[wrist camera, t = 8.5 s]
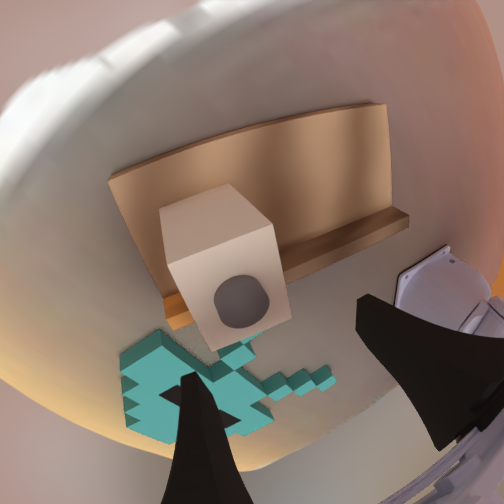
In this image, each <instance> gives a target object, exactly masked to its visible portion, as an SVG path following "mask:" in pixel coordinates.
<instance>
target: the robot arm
mask: <svg viewBox="0 0 504 504" xmlns="http://www.w3.org/2000/svg"><path fill="white" fill-rule="evenodd" d="M355 330H356V332H357V333H358V335H359V336H360V338H361V339H362V341H363V342H364V343H365V345H366V346H367V348H368V349H369V350H370V351H371V352H372V353H373V355H374V356H375V357H376V358H377V359H378V360H379V361H380V363H381V364H382V365H383V366H384V367H385V368H386V369H387V370H388V372H389V373H390V374H391V375H392V376H393V377H394V378H395V379H396V381H397V382H398V383H399V385H400V386H401V387H402V389H403V390H404V392H405V393H406V395H407V396H408V397H409V399H410V400H411V402H412V404H413V406H414V407H415V409H416V410H417V412H418V414H419V416H420V417H421V419H422V421H423V423H424V424H425V426H426V428H427V431H428V433H429V435H430V437H431V439H432V441H433V443H434V446H435V447H436V449H437V450H438V451H441V450H442V449H443V448H445V447H446V446H447V445H449V443H451V442H452V441H453V440H455V439H456V438H457V437H458V436H459V435H460V436H461V437H462V438H463V439H462V440H461V441H460V442H459V443H458V444H457V445H456V446H454V447H453V448H452V449H451V450H450V451H449V452H448V453H447V454H445V455H444V456H443V457H442V458H441V459H440V460H438V462H436V463H435V464H434V465H433V466H431V467H430V468H429V469H428V470H426V471H425V472H424V473H422V474H421V475H420V476H418V477H417V478H416V479H414V480H413V481H412V482H410V483H409V484H407V485H406V486H405V487H403V488H402V489H400V490H399V491H398V492H396V493H394V494H393V495H391V496H390V497H388V498H387V499H385V500H383V501H382V502H380V503H378V504H404V503H405V502H406V501H408V500H409V499H411V498H412V497H414V496H415V495H416V494H418V493H419V492H420V491H421V490H423V489H424V488H426V487H427V486H428V485H430V484H431V483H432V482H433V481H434V480H436V479H437V478H438V477H439V476H440V475H442V474H443V473H444V472H445V471H446V470H448V468H450V467H451V466H452V465H453V464H454V463H455V462H456V461H458V460H459V463H458V464H456V465H455V466H454V467H452V468H451V469H449V470H448V471H447V472H446V473H445V474H443V475H442V476H441V478H439V479H438V480H437V481H436V482H435V483H434V485H433V486H434V487H435V489H434V490H432V491H431V492H430V493H428V494H427V495H426V496H424V497H423V498H421V499H420V500H418V501H417V502H415V503H414V504H504V502H503V500H502V499H501V498H500V496H499V495H498V493H497V492H496V491H495V490H496V488H497V487H498V486H499V484H500V483H501V482H502V480H503V479H504V299H502V298H500V297H499V296H495V297H491V289H490V286H489V284H488V282H487V281H486V279H485V278H484V277H483V276H482V275H481V274H480V273H479V272H477V271H476V270H474V269H473V268H472V267H470V266H469V265H467V264H466V263H464V262H463V261H461V260H460V259H459V258H457V257H456V256H454V255H453V254H451V253H450V246H449V245H446V246H445V247H443V248H442V249H440V250H439V251H437V252H436V253H434V254H433V255H431V256H430V257H428V258H426V259H425V260H423V261H422V262H420V263H418V264H417V265H415V266H414V267H412V268H410V269H409V270H407V271H405V272H404V273H402V274H401V275H400V276H399V279H398V287H397V294H396V300H395V306H393V305H391V304H388V303H386V302H384V301H382V300H380V299H378V298H376V297H374V296H372V295H370V294H366V295H364V296H362V297H361V298H359V299H357V311H356V329H355ZM161 504H253V501H252V499H251V497H250V495H249V493H248V491H247V490H246V487H245V485H244V483H243V481H242V479H241V476H240V474H239V472H238V470H237V467H236V465H235V462H234V459H233V456H232V452H231V449H230V446H229V442H228V439H227V435H226V432H225V428H224V425H223V421H222V418H221V415H220V412H219V410H218V407H217V405H216V402H215V399H214V397H213V395H212V393H211V392H210V390H209V389H208V388H207V386H206V385H205V383H204V382H203V381H202V379H201V378H200V376H199V375H198V373H197V372H196V371H194V372H191V373H189V374H186V375H183V376H181V378H180V407H179V419H178V430H177V437H176V444H175V451H174V457H173V462H172V467H171V471H170V475H169V479H168V483H167V486H166V490H165V493H164V496H163V499H162V502H161Z"/></svg>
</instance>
